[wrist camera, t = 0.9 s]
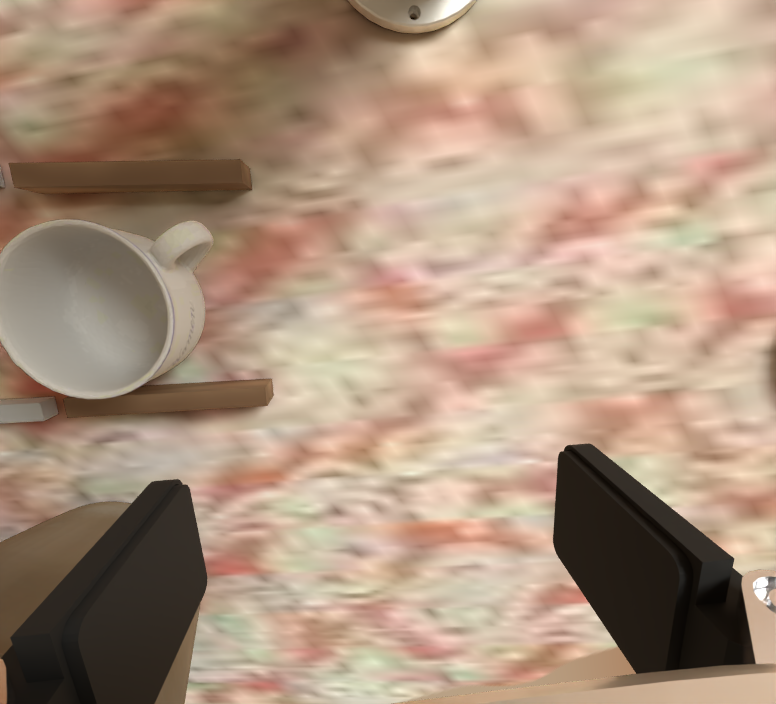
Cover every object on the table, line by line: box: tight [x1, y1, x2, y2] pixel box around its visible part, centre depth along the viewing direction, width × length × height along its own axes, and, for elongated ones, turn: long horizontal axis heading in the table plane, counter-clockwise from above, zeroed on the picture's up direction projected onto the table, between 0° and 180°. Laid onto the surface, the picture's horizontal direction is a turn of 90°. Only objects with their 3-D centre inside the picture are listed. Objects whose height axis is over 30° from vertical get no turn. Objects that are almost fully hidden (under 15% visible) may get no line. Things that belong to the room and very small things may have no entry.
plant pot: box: [0, 502, 200, 704], centre depth 25 cm, size 25×25×22 cm
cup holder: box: [9, 159, 274, 418], centre depth 29 cm, size 18×15×2 cm
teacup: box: [0, 219, 214, 399], centre depth 27 cm, size 14×11×8 cm
